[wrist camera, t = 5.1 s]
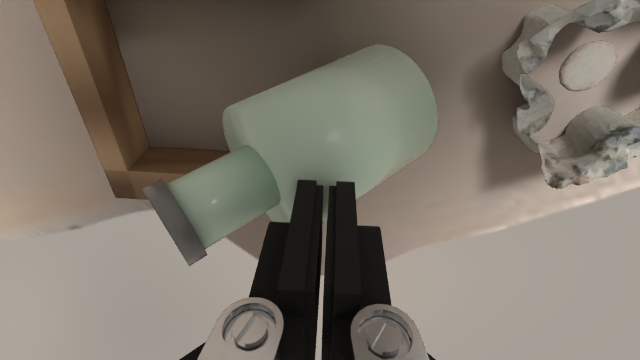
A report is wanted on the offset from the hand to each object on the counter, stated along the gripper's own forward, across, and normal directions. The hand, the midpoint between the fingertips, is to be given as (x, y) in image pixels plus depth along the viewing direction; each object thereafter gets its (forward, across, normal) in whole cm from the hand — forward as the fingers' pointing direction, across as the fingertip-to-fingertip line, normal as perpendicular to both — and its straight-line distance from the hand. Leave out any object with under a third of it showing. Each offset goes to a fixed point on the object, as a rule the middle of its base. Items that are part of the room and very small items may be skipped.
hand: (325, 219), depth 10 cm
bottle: (+6, -2, -1) cm, 7 cm away
